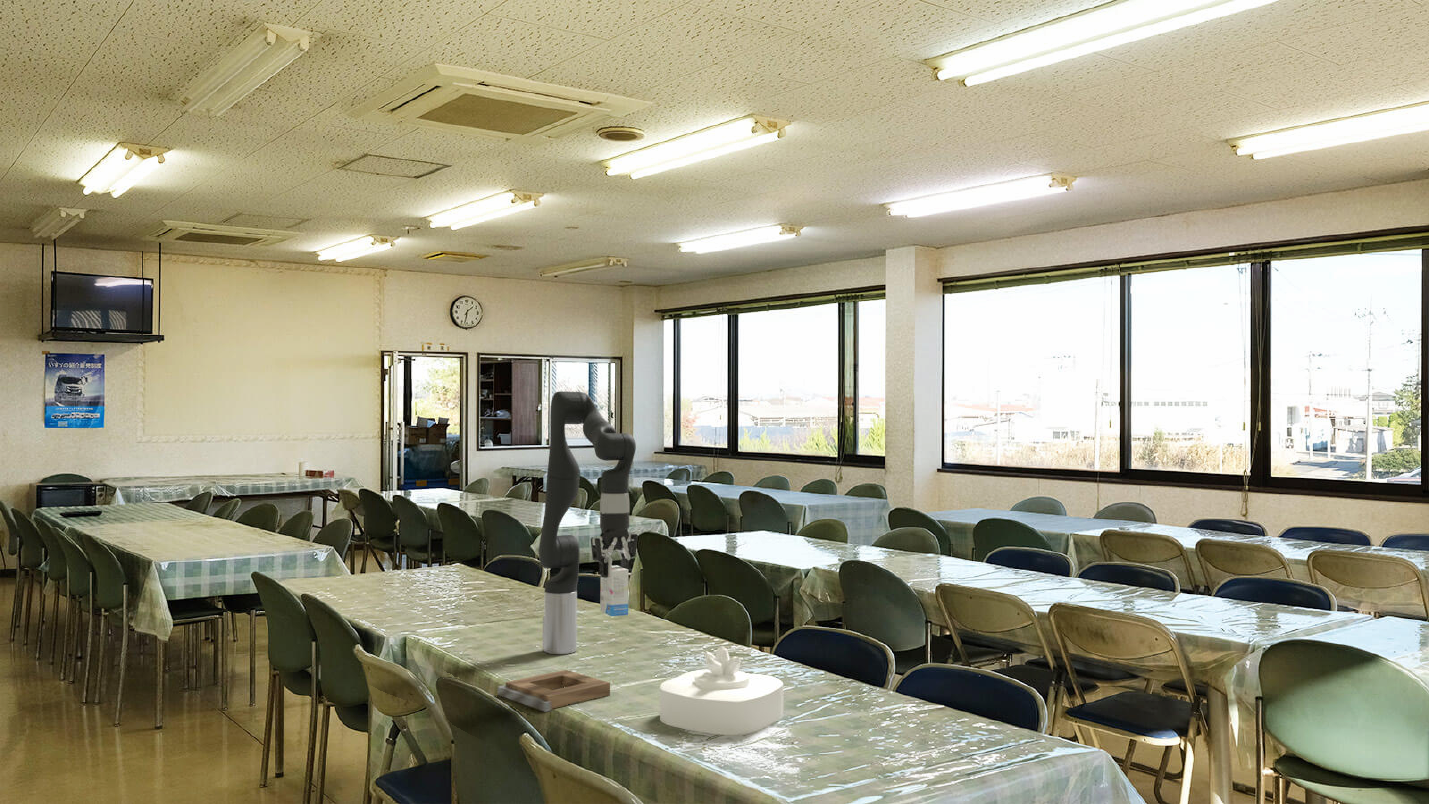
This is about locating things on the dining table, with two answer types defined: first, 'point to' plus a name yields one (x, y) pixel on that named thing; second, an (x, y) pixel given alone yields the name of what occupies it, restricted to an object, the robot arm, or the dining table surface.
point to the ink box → (614, 591)
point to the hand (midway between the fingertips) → (614, 575)
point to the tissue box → (721, 698)
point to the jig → (545, 699)
